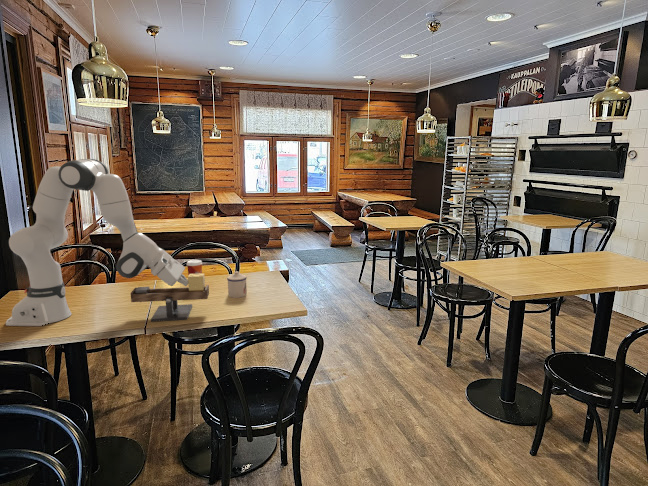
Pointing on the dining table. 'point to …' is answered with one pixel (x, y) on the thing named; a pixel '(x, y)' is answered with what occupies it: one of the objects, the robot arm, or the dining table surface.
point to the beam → (169, 294)
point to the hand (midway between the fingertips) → (187, 284)
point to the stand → (171, 311)
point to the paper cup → (194, 266)
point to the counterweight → (142, 290)
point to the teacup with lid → (237, 285)
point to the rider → (196, 282)
